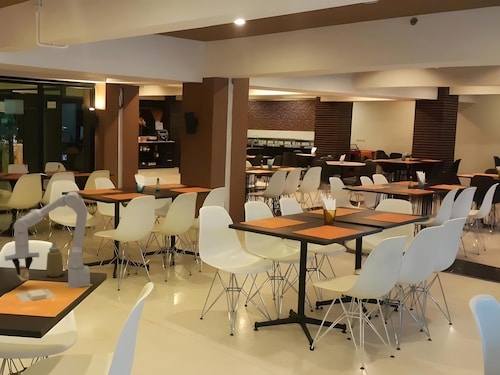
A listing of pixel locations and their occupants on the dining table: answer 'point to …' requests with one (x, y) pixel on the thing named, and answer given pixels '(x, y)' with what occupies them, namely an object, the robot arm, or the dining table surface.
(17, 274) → the robot arm
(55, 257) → the squeeze bottle
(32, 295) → the tile
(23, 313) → the dining table surface
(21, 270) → the wooden bar
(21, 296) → the mat
